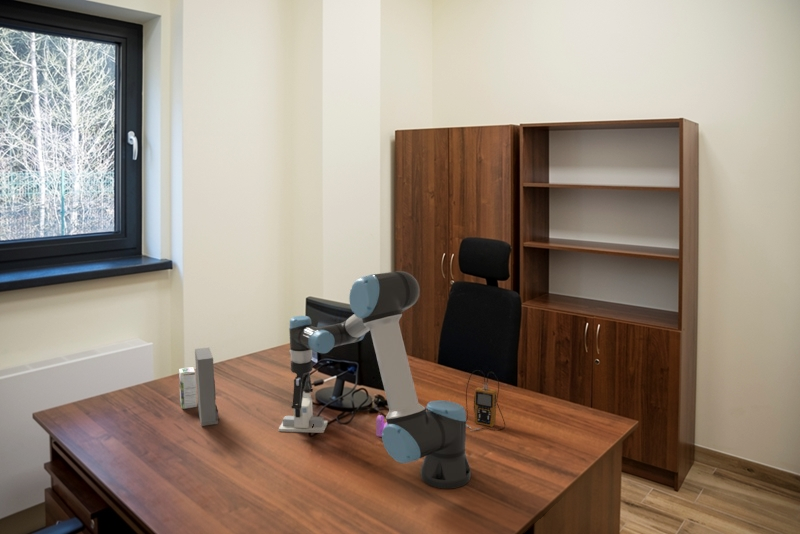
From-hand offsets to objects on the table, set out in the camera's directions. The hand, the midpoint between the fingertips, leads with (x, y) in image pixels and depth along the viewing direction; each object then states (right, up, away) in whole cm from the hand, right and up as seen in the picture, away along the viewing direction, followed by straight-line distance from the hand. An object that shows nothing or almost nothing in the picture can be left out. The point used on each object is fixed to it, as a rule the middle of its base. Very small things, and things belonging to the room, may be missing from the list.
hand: (303, 417), depth 232 cm
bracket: (+31, -4, -1) cm, 31 cm away
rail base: (0, -4, +1) cm, 4 cm away
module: (0, -2, 0) cm, 2 cm away
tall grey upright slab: (-36, -3, +9) cm, 37 cm away
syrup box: (-47, 0, +21) cm, 52 cm away
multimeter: (+64, -4, 0) cm, 64 cm away
